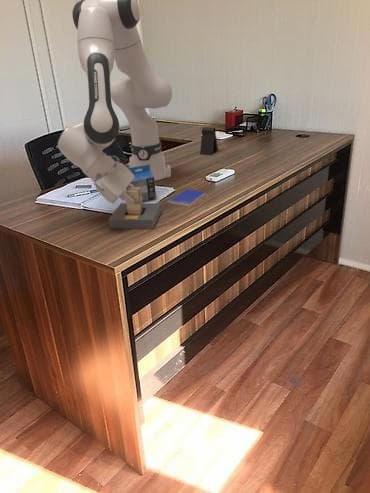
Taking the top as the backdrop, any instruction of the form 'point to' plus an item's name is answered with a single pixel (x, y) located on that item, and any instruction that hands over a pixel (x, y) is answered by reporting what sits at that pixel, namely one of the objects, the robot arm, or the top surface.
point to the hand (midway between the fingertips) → (135, 199)
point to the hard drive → (187, 197)
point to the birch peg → (137, 205)
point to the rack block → (135, 217)
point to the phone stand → (208, 141)
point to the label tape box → (144, 182)
